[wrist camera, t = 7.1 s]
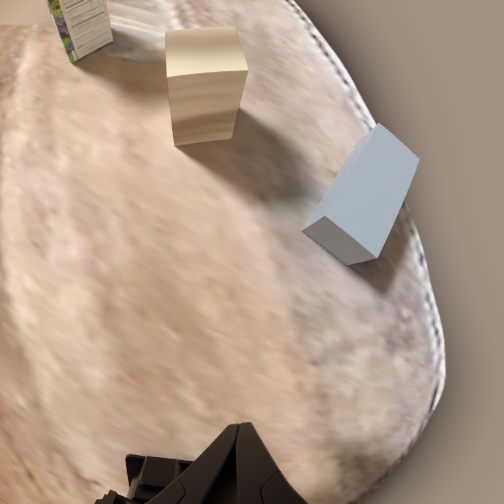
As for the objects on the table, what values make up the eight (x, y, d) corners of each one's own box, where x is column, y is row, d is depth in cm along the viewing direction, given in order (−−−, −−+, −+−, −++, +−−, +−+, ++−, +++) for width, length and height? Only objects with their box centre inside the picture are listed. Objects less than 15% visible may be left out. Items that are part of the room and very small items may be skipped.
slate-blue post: (377, 258, 20) (419, 159, 22) (324, 215, 19) (379, 122, 22) (345, 265, 24) (390, 178, 27) (300, 231, 24) (353, 147, 27)
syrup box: (62, 45, 23) (33, -38, 8) (103, 23, 24) (86, -63, 10) (71, 64, 22) (37, -29, 8) (116, 40, 24) (99, -57, 10)
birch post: (231, 138, 24) (248, 70, 15) (174, 146, 23) (166, 77, 14) (222, 96, 25) (235, 26, 16) (170, 102, 24) (164, 31, 15)
